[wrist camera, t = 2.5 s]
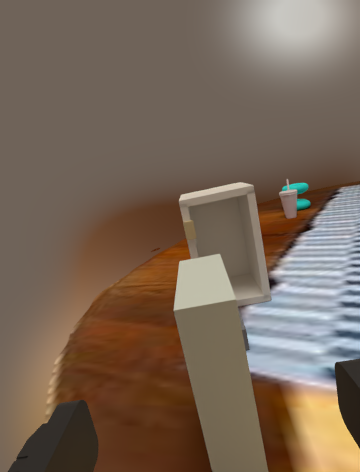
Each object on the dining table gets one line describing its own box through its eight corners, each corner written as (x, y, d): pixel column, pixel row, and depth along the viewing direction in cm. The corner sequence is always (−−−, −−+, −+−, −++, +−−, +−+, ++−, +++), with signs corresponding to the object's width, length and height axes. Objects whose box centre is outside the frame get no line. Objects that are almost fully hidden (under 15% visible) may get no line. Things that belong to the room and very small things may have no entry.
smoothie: (303, 214, 104) (299, 176, 101) (294, 219, 101) (289, 180, 98) (288, 215, 109) (283, 178, 107) (278, 219, 106) (273, 182, 103)
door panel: (246, 392, 31) (219, 253, 27) (272, 494, 21) (236, 299, 18) (210, 397, 31) (179, 261, 28) (219, 500, 21) (173, 310, 18)
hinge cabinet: (255, 275, 60) (240, 182, 56) (297, 341, 37) (275, 190, 33) (192, 287, 61) (172, 196, 57) (193, 358, 38) (160, 214, 34)
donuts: (277, 188, 115) (286, 184, 122) (281, 212, 117) (289, 207, 124) (303, 185, 108) (311, 181, 115) (306, 210, 110) (313, 205, 117)
